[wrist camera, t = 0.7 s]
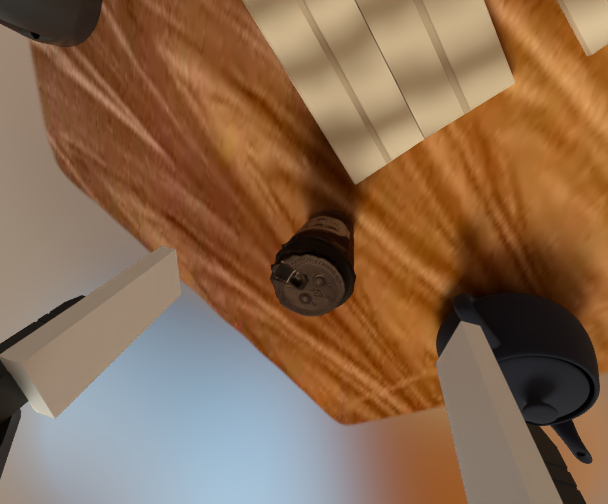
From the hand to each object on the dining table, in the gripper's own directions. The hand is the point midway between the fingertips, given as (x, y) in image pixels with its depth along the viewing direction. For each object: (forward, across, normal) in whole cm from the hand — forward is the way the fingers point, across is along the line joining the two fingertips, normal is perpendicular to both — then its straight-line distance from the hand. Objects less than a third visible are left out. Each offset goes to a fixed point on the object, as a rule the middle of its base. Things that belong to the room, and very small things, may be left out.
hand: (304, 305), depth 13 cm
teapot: (+23, +24, -16) cm, 37 cm away
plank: (+22, -5, +12) cm, 25 cm away
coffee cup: (+23, -1, -7) cm, 24 cm away
